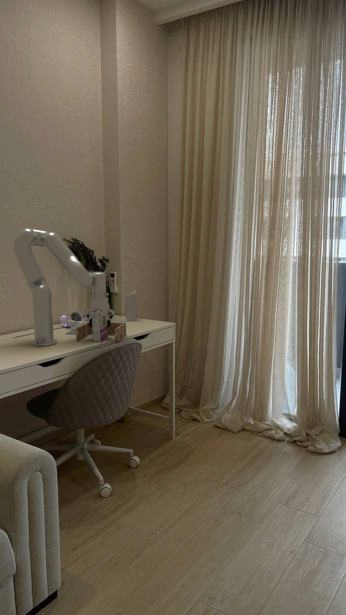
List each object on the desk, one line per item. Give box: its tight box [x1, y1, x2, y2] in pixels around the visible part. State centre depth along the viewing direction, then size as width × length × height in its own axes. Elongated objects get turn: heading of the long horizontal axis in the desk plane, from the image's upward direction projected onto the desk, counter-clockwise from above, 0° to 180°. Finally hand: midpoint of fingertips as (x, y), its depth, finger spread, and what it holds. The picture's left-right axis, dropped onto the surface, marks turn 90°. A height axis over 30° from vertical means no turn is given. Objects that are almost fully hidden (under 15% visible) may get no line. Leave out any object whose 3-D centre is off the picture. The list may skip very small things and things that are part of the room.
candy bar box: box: [92, 310, 109, 342], centre depth 245 cm, size 11×5×16 cm, turn 168°
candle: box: [115, 290, 138, 322], centre depth 299 cm, size 7×14×20 cm, turn 84°
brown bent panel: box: [75, 321, 127, 343], centre depth 248 cm, size 19×22×7 cm
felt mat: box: [65, 328, 76, 336], centre depth 264 cm, size 12×8×1 cm, turn 171°
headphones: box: [60, 311, 89, 329], centre depth 281 cm, size 22×8×22 cm
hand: (100, 326), depth 245 cm, fingers open, 9 cm apart
